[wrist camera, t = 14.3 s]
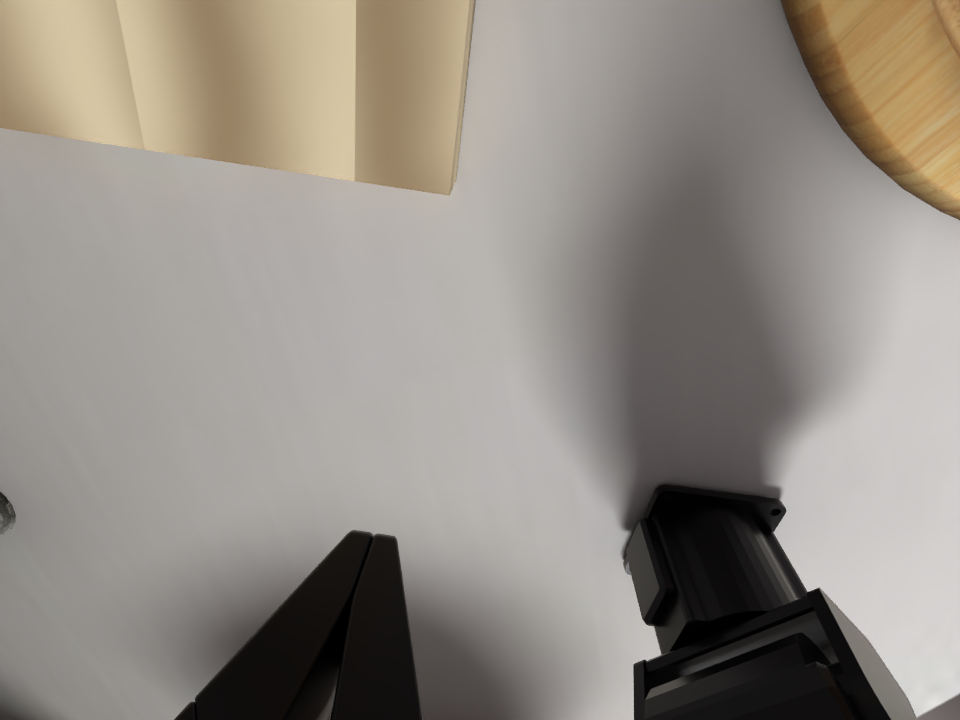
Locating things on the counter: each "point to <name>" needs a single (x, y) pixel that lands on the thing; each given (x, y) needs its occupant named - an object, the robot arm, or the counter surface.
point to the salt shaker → (6, 515)
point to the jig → (249, 81)
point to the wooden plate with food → (891, 84)
